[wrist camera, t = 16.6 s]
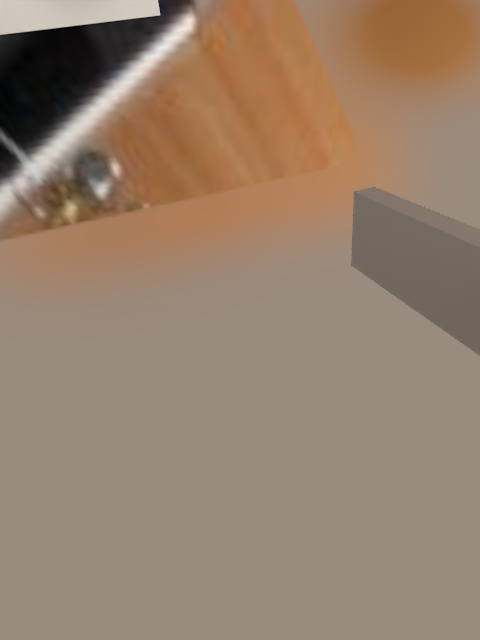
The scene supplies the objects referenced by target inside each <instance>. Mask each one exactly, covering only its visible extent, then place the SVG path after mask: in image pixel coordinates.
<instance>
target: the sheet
mask: <svg viewBox="0 0 480 640" xmlns="http://www.w3.org/2000/svg"><path fill="white" fill-rule="evenodd" d="M152 16H160V10H159V5H158V0H0V35H5V34H13V33H21V32H29V31H37V30H45V29H54V28H62V27H70V26H78V25H86V24H94V23H103V22H111V21H119V20H127V19H135V18H144V17H152Z"/></svg>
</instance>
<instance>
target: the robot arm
mask: <svg viewBox="0 0 480 640" xmlns="http://www.w3.org/2000/svg"><path fill="white" fill-rule="evenodd" d="M352 235H353V236H352V260H351V261H352V262H351V263H352V264H351V265H352V266H353V267H354V268H356V269H357V270H359V271H360V272H362V273H363V274H364V275H366V276H367V277H369V278H370V279H372V280H373V281H374V282H376V283H377V284H379V285H380V286H382V287H383V288H384V289H386V290H387V291H389V292H390V293H391V294H393V295H394V296H396V297H397V298H399V299H400V300H402V301H403V302H405V303H406V304H407V305H408V306H410V307H411V308H413V309H414V310H416V311H417V312H419V313H420V314H421V315H423V316H424V317H426V318H427V319H428V320H430V321H431V322H433V323H434V324H436V325H437V326H438V327H440V328H441V329H443V330H444V331H446V332H447V333H448V334H450V335H451V336H453V337H454V338H455V339H457V340H458V341H460V342H461V343H463V344H464V345H465V346H467V347H468V348H470V349H471V350H472V351H474V352H475V353H477V354H479V355H480V230H479V229H477V228H475V227H472V226H470V225H467V224H465V223H462V222H460V221H457V220H455V219H452V218H450V217H447V216H445V215H443V214H440V213H437V212H435V211H433V210H430V209H428V208H425V207H423V206H420V205H418V204H415V203H413V202H410V201H408V200H405V199H403V198H400V197H398V196H395V195H393V194H390V193H388V192H385V191H383V190H380V189H378V188H375V187H371V188H367V189H363V190H359V191H355V192H354V207H353V233H352Z"/></svg>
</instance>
